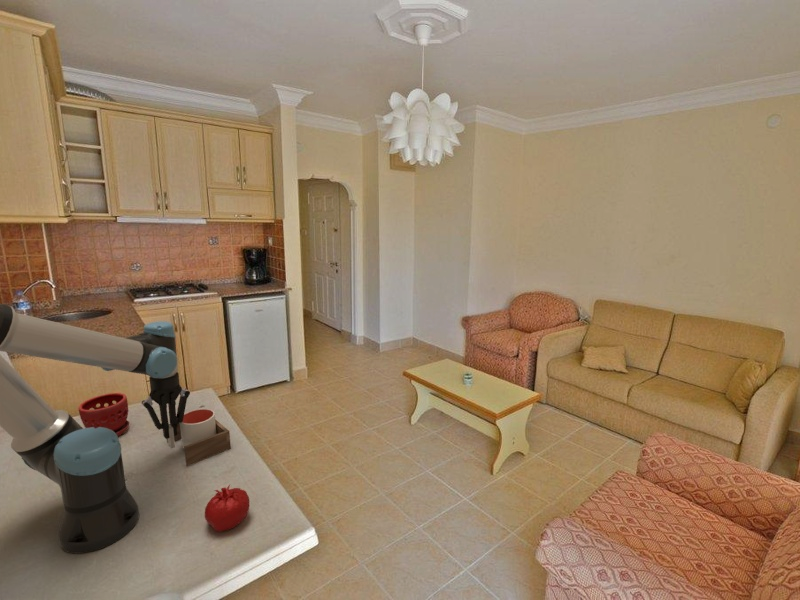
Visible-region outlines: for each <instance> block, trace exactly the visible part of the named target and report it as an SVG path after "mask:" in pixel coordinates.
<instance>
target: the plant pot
mask: <svg viewBox="0 0 800 600" xmlns="http://www.w3.org/2000/svg"><path fill="white" fill-rule="evenodd" d="M114 402H115V403H114ZM105 404H107V406H105ZM97 405H99V406H97ZM78 412H79V413H78V415H79V417H80V420H81V423H82V424H83V427H84V428H90V427H94V428H95V429H96V428H98V427H103V428H108V429H110V430H112V431H114V432H115V433H116V434H117V436H118V437H119V436H120V435H122V434H124V433H125V432H126V431H127V430H128V429H129V427H130V421H129V420H127V419H128V416H129V403H128V398H127V395H126V394H125V393H121V392H114V393H113V392H112V393H106V394H100V395H97V396H94V397H92V398H89V399H87V400H85V401H83V402H82V403H81V404H80V405H79V406H78Z"/></svg>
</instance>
